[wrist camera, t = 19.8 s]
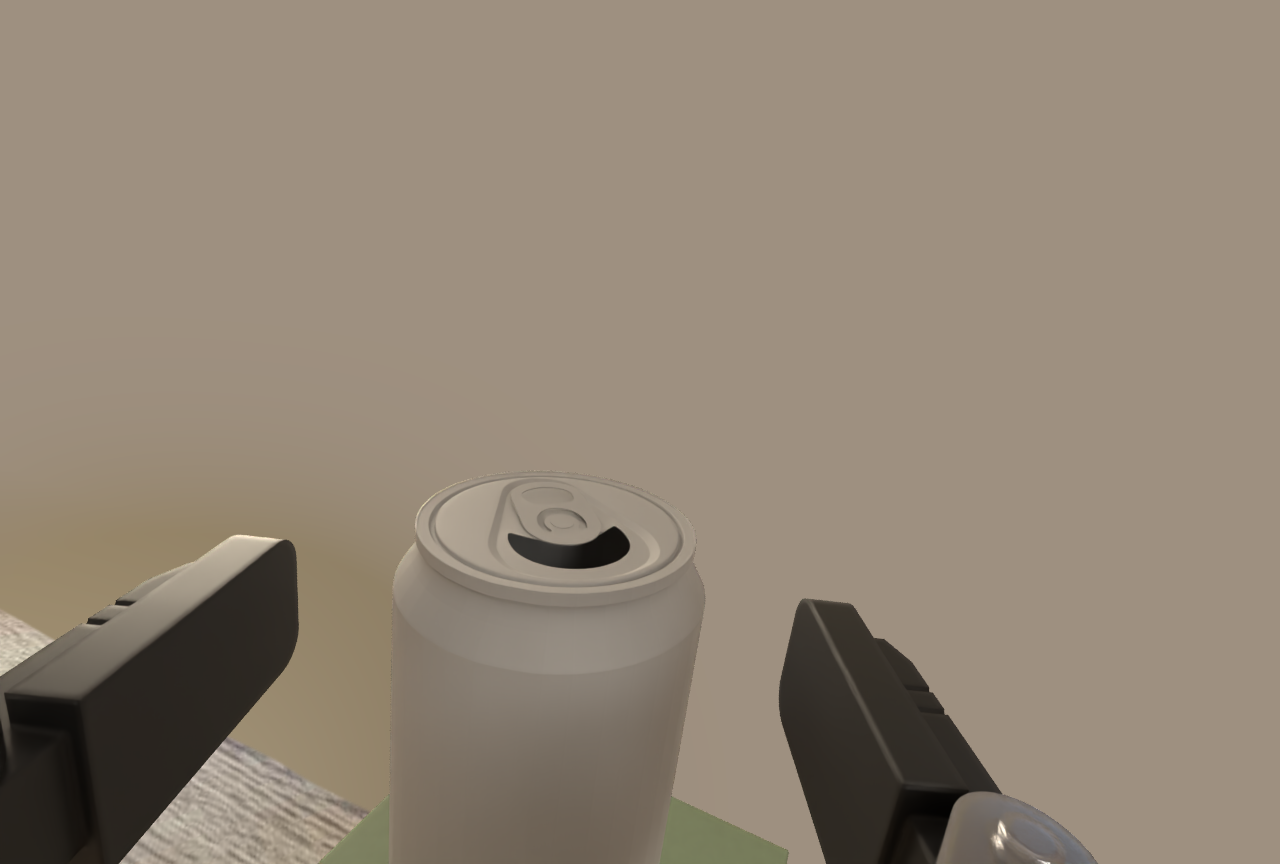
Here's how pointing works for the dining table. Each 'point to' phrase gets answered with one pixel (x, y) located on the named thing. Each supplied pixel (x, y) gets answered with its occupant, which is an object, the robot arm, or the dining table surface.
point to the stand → (690, 859)
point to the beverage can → (540, 672)
